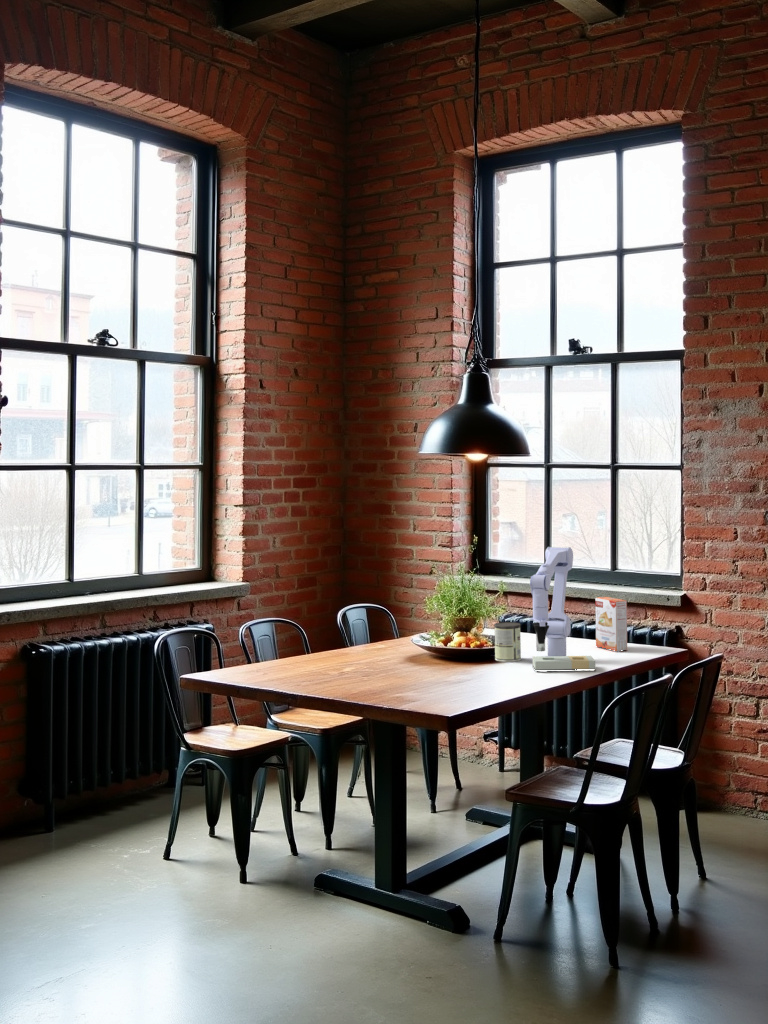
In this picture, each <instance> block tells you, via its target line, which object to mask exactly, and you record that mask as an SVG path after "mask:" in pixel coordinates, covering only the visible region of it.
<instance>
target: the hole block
mask: <svg viewBox="0 0 768 1024" xmlns="http://www.w3.org/2000/svg"><path fill="white" fill-rule="evenodd" d="M533 667H534V669H535V670H575V669H576V670H577V669H595V670H596V659H595V658H594V657H593V656H591V655H566V656H548V655H544V656H538V655H537V656H532V668H533ZM534 669H533V670H534ZM535 670H534V671H535Z"/></svg>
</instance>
